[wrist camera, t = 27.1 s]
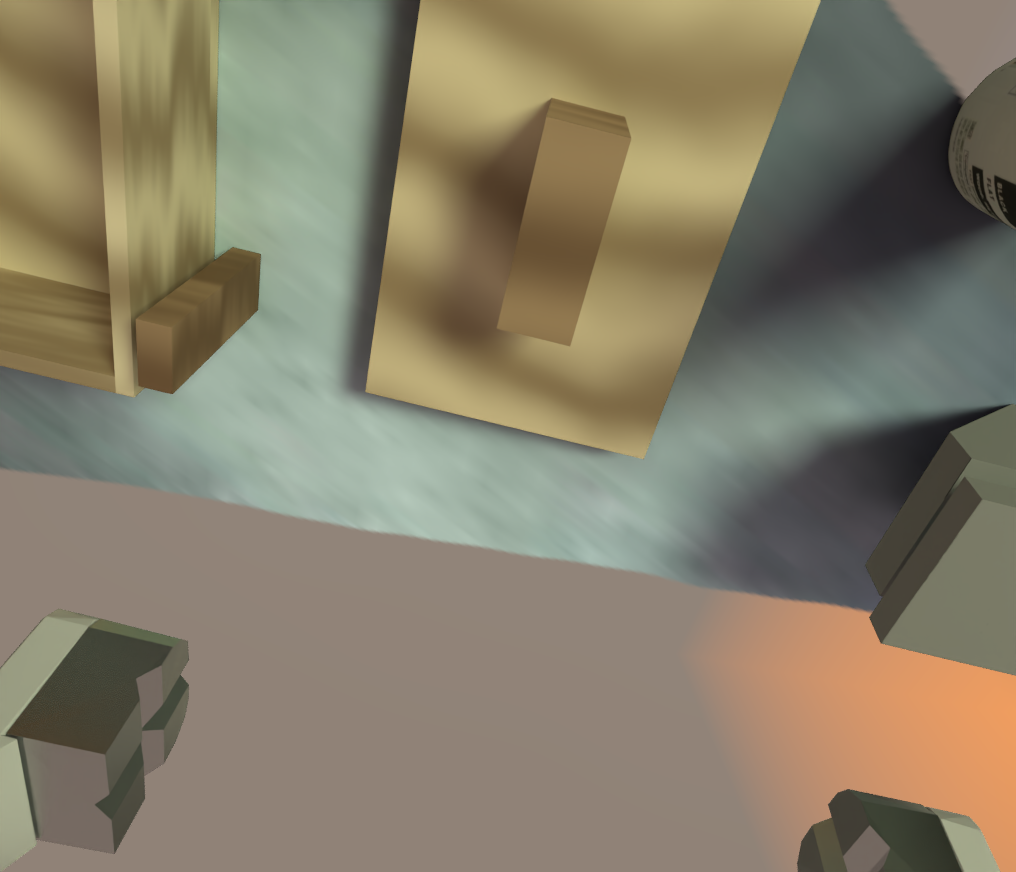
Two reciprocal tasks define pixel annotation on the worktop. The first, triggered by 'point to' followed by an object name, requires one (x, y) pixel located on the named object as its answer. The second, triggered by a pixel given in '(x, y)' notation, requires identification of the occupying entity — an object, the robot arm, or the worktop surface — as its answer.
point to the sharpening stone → (955, 552)
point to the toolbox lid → (570, 202)
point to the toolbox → (113, 194)
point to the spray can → (988, 146)
